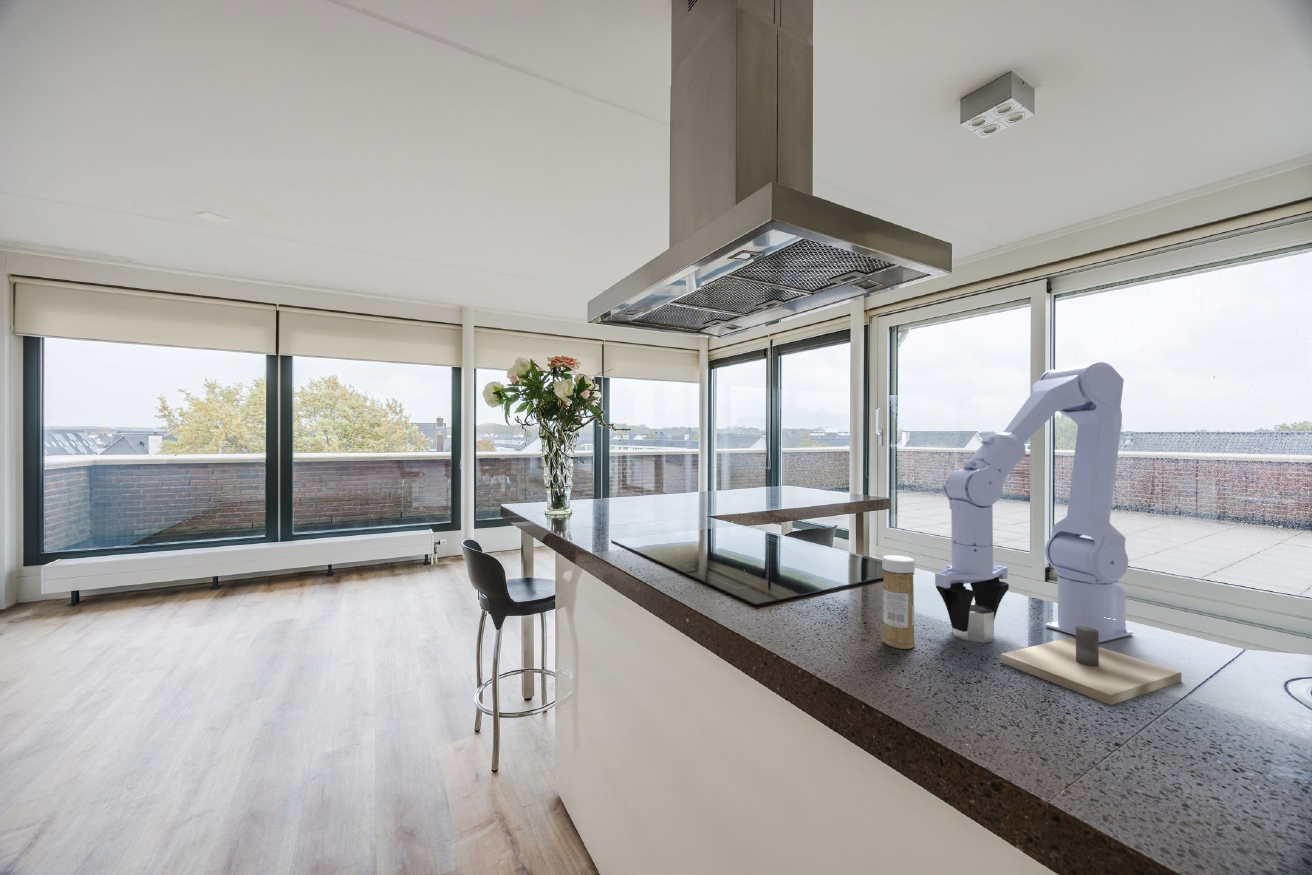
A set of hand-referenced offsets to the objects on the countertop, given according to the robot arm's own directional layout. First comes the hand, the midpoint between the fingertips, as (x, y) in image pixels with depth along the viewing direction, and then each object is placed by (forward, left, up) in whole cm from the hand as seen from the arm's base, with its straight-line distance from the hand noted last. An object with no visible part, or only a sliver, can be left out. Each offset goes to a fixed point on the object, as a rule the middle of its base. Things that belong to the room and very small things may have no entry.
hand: (972, 626), depth 83 cm
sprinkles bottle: (+14, -2, -2) cm, 14 cm away
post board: (-2, +15, -1) cm, 15 cm away
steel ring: (0, 0, -1) cm, 1 cm away
